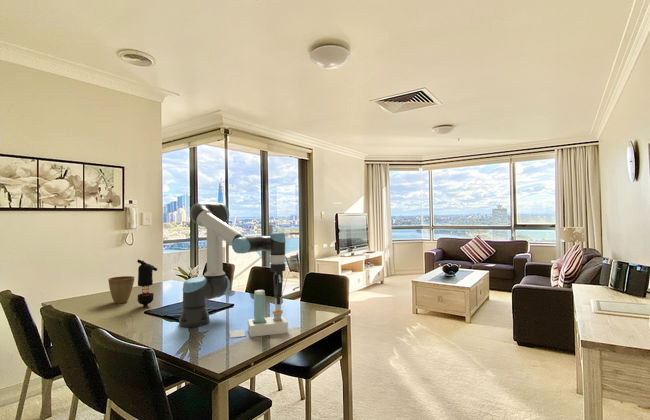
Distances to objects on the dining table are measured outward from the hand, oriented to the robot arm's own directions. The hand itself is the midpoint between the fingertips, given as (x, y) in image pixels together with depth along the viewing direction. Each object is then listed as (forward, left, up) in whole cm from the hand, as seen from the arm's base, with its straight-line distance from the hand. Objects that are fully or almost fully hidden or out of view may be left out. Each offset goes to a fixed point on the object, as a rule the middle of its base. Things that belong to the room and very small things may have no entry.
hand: (278, 310), depth 166 cm
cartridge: (-9, 0, -10) cm, 13 cm away
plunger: (0, 0, -5) cm, 5 cm away
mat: (-20, 0, -10) cm, 22 cm away
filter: (-70, +70, -10) cm, 99 cm away
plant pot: (-88, +86, -10) cm, 123 cm away
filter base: (-5, 0, -10) cm, 11 cm away
